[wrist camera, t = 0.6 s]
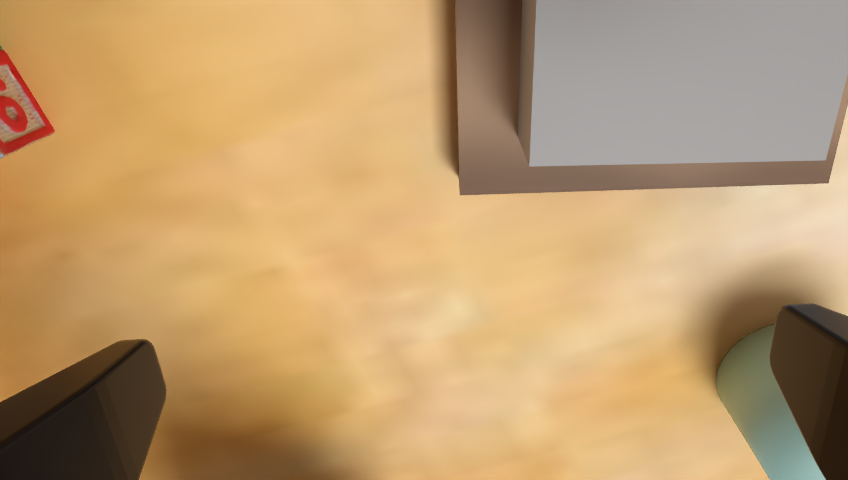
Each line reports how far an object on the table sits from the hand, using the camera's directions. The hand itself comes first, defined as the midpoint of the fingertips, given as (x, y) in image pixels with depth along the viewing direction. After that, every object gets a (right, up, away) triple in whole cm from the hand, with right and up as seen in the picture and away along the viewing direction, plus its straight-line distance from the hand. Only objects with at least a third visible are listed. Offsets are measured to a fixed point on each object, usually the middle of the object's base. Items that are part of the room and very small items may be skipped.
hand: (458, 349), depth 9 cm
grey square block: (+6, +9, +9) cm, 14 cm away
